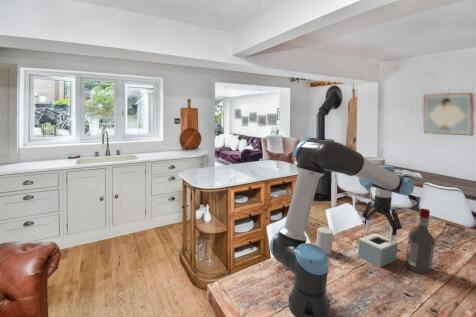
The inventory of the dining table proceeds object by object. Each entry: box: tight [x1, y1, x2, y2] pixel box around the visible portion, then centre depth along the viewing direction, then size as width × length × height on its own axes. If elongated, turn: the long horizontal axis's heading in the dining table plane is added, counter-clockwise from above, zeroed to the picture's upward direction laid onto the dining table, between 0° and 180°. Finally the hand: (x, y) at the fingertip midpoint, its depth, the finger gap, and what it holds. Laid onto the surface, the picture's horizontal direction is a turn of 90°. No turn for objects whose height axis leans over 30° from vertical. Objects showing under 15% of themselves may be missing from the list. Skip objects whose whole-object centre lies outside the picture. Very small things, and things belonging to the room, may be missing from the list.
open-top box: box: [357, 232, 399, 268], centre depth 136 cm, size 14×12×10 cm
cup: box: [315, 226, 334, 256], centre depth 143 cm, size 8×8×12 cm
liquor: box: [405, 208, 436, 275], centre depth 126 cm, size 9×9×30 cm
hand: (379, 235), depth 135 cm, fingers open, 12 cm apart
